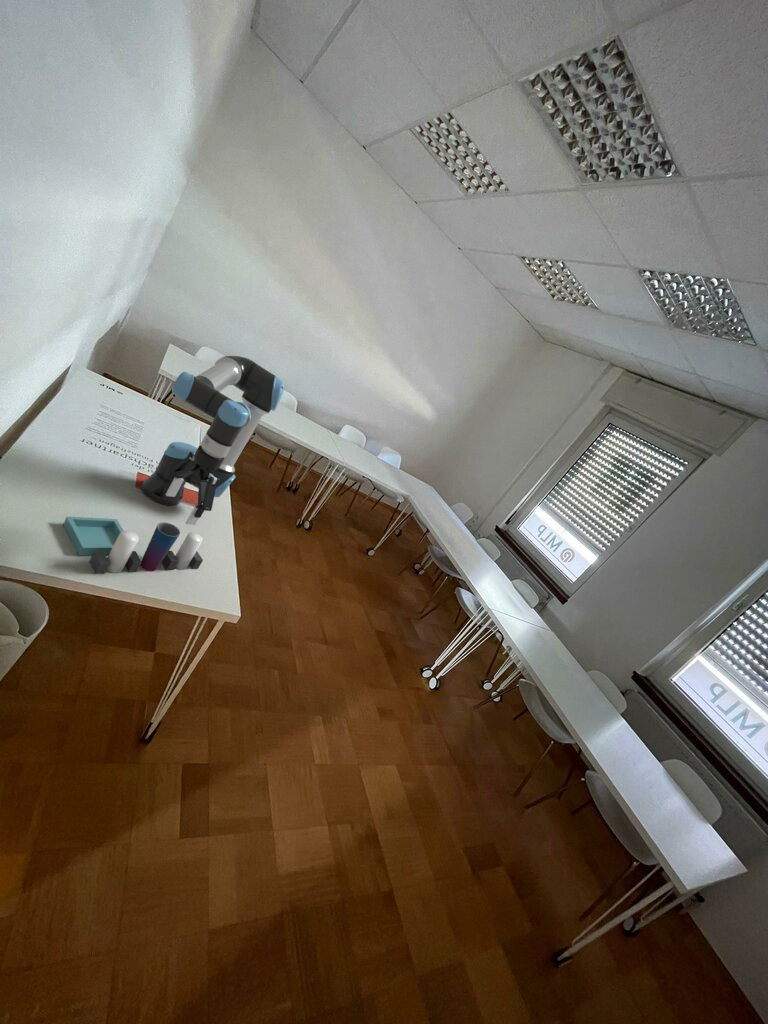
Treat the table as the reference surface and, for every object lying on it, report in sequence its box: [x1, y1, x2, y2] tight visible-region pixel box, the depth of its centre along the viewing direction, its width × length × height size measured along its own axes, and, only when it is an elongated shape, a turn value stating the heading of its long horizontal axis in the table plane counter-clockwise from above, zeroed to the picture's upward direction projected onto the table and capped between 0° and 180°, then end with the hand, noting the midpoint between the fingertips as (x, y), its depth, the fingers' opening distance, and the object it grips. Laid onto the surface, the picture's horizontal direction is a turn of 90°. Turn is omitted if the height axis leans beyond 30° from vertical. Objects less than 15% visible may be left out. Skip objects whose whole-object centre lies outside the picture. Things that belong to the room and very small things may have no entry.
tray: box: [62, 516, 125, 557], centre depth 127 cm, size 14×14×3 cm
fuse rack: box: [88, 529, 204, 575], centre depth 130 cm, size 32×5×12 cm, turn 142°
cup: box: [140, 521, 181, 572], centre depth 130 cm, size 7×7×15 cm
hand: (179, 509), depth 126 cm, fingers open, 13 cm apart
